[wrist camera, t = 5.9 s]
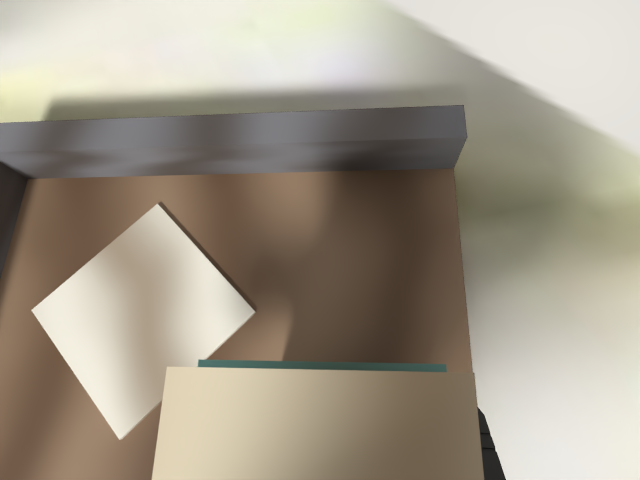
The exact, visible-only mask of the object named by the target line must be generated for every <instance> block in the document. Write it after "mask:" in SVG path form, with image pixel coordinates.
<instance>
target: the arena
mask: <svg viewBox="0 0 640 480" xmlns="http://www.w3.org/2000/svg"><path fill="white" fill-rule="evenodd" d="M466 139H467V132H466V122H465V113H464V105H453V106H427V107H401V108H375V109H349V110H323V111H297V112H271V113H245V114H219V115H193V116H167V117H141V118H115V119H89V120H63V121H37V122H11V123H0V480H152V473H153V466H154V459H155V451H156V444H157V436H158V429H159V422H160V414H161V407H162V399H163V392H164V385H165V377H166V370H167V367H198V359H200V360H254V361H308V362H362V363H416V364H446V367H447V372H458V373H473V372H472V361H471V350H470V340H469V329H468V318H467V307H466V297H465V286H464V275H463V265H462V254H461V243H460V232H459V222H458V211H457V200H456V190H455V179H454V166H455V164H456V162H457V159H458V157H459V155H460V152H461V150H462V148H463V146H464V143H465V141H466Z"/></svg>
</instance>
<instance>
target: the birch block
mask: <svg viewBox="0 0 640 480" xmlns="http://www.w3.org/2000/svg"><path fill="white" fill-rule="evenodd" d="M152 480H484V472H483V462H482V451H481V440H480V430H479V419H478V408H477V398H476V387H475V376H474V373H458V372H447V367H446V364H416V363H362V362H308V361H254V360H200V359H198V367H167V370H166V377H165V385H164V392H163V399H162V407H161V414H160V422H159V429H158V436H157V444H156V451H155V459H154V466H153V473H152Z"/></svg>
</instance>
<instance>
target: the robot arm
mask: <svg viewBox="0 0 640 480" xmlns="http://www.w3.org/2000/svg"><path fill="white" fill-rule="evenodd" d="M477 408H478V407H477ZM478 419H479V430H480V440H481V451H482V462H483V472H484V480H506V479H505V476H504V473H503V470H502V467H501V464H500V461H499V458H498V455H497V452H496V451H495V446H494V443H493V440H492V437H491V436H490V431H489V428H488V425H487V422H486V419H485V416H484V414H483V413H482V412H481V411H480V409H479V408H478Z"/></svg>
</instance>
